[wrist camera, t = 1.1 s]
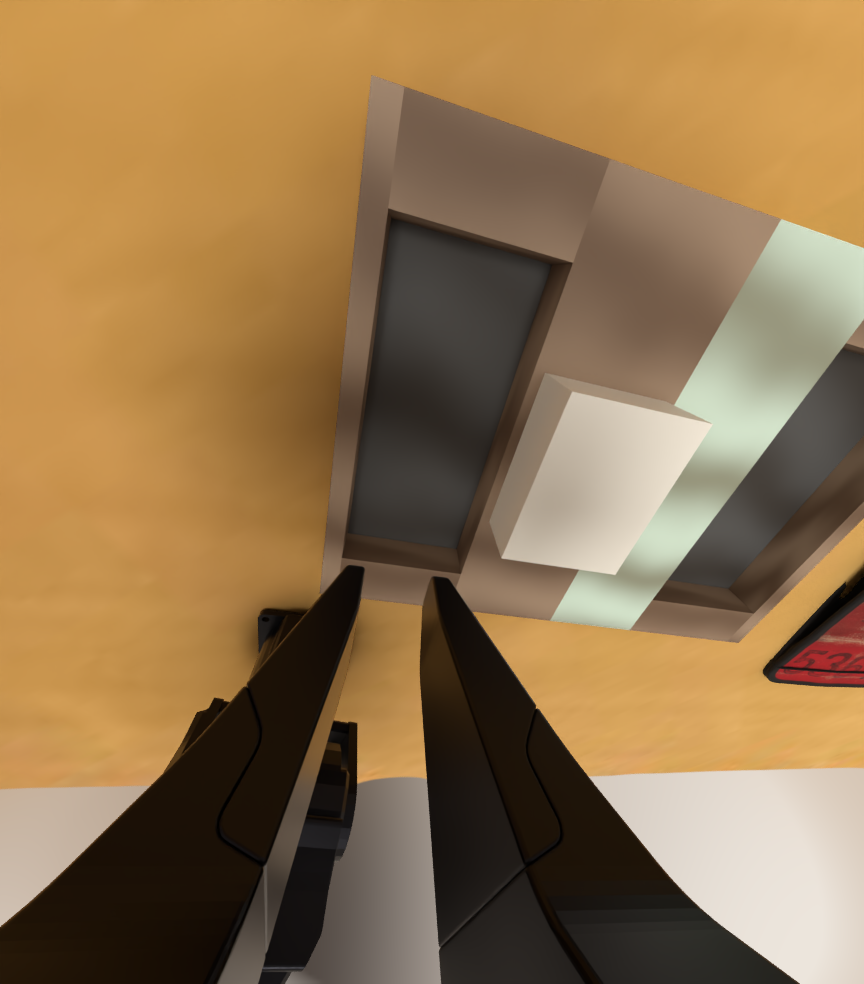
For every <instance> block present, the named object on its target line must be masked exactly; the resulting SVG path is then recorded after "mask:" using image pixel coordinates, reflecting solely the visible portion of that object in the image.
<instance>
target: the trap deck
mask: <svg viewBox="0 0 864 984" xmlns="http://www.w3.org/2000/svg"><path fill="white" fill-rule="evenodd" d="M545 373H548V374H552V375H557V376H561V377H565V378H569V379H573V380H578V381H582V382H586V383H590V384H594V385H599V386H603V387H607V388H611V389H616V390H620V391H624V392H628V393H632V394H637V395H641V396H645V397H649V398H653V399H658V400H662V401H666V402H668V403H670V404H672V405H674V406H676V407H678V408H681V409H683V410H685V411H687V412H689V413H691V414H693V415H695V416H697V417H699V418H702V419H704V420H706V421H708V422H710V423H712V424H713V425H712V427H711V428H710V430H709V431H708V433H707V434H706V436H705V437H704V439H703V441H702V442H701V444H700V445H699V447H698V448H697V450H696V451H695V453H694V454H693V456H692V457H691V459H690V461H689V462H688V464H687V465H686V467H685V468H684V470H683V471H682V473H681V474H680V476H679V478H678V479H677V481H676V482H675V484H674V485H673V487H672V488H671V490H670V491H669V493H668V494H667V496H666V498H665V499H664V501H663V502H662V504H661V505H660V507H659V508H658V510H657V511H656V513H655V514H654V516H653V518H652V519H651V521H650V522H649V524H648V525H647V527H646V528H645V530H644V531H643V533H642V535H641V536H640V538H639V539H638V541H637V542H636V544H635V545H634V547H633V548H632V550H631V551H630V553H629V555H628V556H627V558H626V559H625V561H624V562H623V564H622V565H621V567H620V568H619V570H618V571H617V573H616V575H612V574H606V573H599V572H592V571H585V570H578V569H571V568H564V567H557V566H550V565H543V564H536V563H530V562H523V561H516V560H509V559H502V558H501V556H500V552H499V549H498V546H497V543H496V540H495V537H494V534H493V531H492V528H491V525H490V522H489V521H490V518H491V515H492V513H493V510H494V507H495V505H496V502H497V499H498V497H499V494H500V491H501V489H502V486H503V483H504V481H505V478H506V475H507V473H508V470H509V468H510V465H511V462H512V460H513V457H514V454H515V452H516V449H517V446H518V444H519V441H520V438H521V436H522V433H523V430H524V428H525V425H526V422H527V420H528V417H529V414H530V412H531V409H532V406H533V404H534V401H535V398H536V396H537V393H538V390H539V388H540V385H541V382H542V380H543V377H544V374H545ZM863 518H864V248H862V247H859V246H856V245H853V244H850V243H848V242H845V241H842V240H839V239H836V238H833V237H830V236H828V235H825V234H822V233H819V232H816V231H813V230H811V229H808V228H805V227H802V226H799V225H796V224H794V223H791V222H788V221H785V220H782V219H779V218H776V217H774V216H771V215H768V214H765V213H762V212H759V211H757V210H754V209H751V208H748V207H745V206H742V205H740V204H737V203H734V202H731V201H728V200H725V199H722V198H720V197H717V196H714V195H711V194H708V193H705V192H703V191H700V190H697V189H694V188H691V187H688V186H686V185H683V184H680V183H677V182H674V181H671V180H668V179H666V178H663V177H660V176H657V175H654V174H651V173H649V172H646V171H643V170H640V169H637V168H634V167H632V166H629V165H626V164H623V163H620V162H617V161H614V160H612V159H609V158H606V157H603V156H600V155H597V154H595V153H592V152H589V151H586V150H583V149H580V148H577V147H575V146H572V145H569V144H566V143H563V142H560V141H558V140H555V139H552V138H549V137H546V136H543V135H541V134H538V133H535V132H532V131H529V130H526V129H523V128H521V127H518V126H515V125H512V124H509V123H506V122H504V121H501V120H498V119H495V118H492V117H489V116H487V115H484V114H481V113H478V112H475V111H472V110H469V109H467V108H464V107H461V106H458V105H455V104H452V103H450V102H447V101H444V100H441V99H438V98H435V97H433V96H430V95H427V94H424V93H421V92H418V91H415V90H413V89H410V88H407V87H404V86H401V85H398V84H396V83H393V82H390V81H387V80H384V79H381V78H379V77H376V76H373V75H371V84H370V94H369V104H368V114H367V124H366V135H365V145H364V155H363V165H362V175H361V185H360V195H359V205H358V215H357V225H356V235H355V245H354V255H353V265H352V275H351V285H350V295H349V305H348V315H347V325H346V335H345V345H344V355H343V365H342V375H341V385H340V395H339V405H338V415H337V425H336V435H335V445H334V455H333V465H332V475H331V485H330V495H329V506H328V516H327V526H326V536H325V546H324V556H323V566H322V576H321V586H320V594H323V593H324V591H325V590H326V589H327V588H328V587H329V585H330V584H331V583H332V582H333V581H334V580H335V578H336V577H337V576H338V575H339V574H340V573H341V571H342V570H343V569H344V568H345V567H346V566H347V565H356V566H363V567H364V568H365V574H364V580H363V587H362V594H361V598H362V599H371V600H379V601H388V602H396V603H405V604H413V605H422V606H423V601H424V598H425V594H426V591H427V588H428V584H429V581H430V579H431V577H433V576H439V577H446V578H448V579H450V581H451V582H452V583H453V585H454V586H455V588H456V589H457V591H458V592H459V594H460V595H461V597H462V598H463V600H464V601H465V602H466V604H467V605H468V607H469V608H470V610H471V611H472V612H481V613H489V614H498V615H506V616H515V617H523V618H532V619H540V620H549V621H557V622H566V623H574V624H583V625H591V626H600V627H608V628H616V629H625V630H633V631H642V632H650V633H659V634H667V635H676V636H684V637H693V638H701V639H710V640H718V641H727V642H735V643H739V642H740V641H741V640H742V639H743V638H744V637H745V636H746V635H747V634H748V633H749V632H750V631H751V630H752V629H753V628H754V627H755V626H756V625H757V624H758V623H759V622H760V621H761V620H762V619H763V618H764V617H765V616H766V615H767V614H768V613H769V612H770V611H771V610H772V609H773V608H774V607H775V606H776V605H777V604H778V603H779V602H780V601H781V600H782V599H783V598H784V597H785V596H786V595H787V594H788V593H789V592H790V591H791V590H792V589H793V588H794V587H795V586H796V585H797V584H798V583H799V582H800V581H801V580H802V579H803V578H804V577H805V576H806V575H807V574H808V573H809V572H810V571H811V570H812V569H813V568H814V567H815V566H816V565H817V564H818V563H819V562H820V561H821V560H822V559H823V558H824V557H825V556H826V555H827V554H828V553H829V552H830V551H831V550H832V549H833V548H834V547H835V546H836V545H837V544H838V543H839V542H840V541H841V540H842V539H843V538H844V537H845V536H846V535H847V534H848V533H849V532H850V531H851V530H852V529H853V528H854V527H855V526H856V525H857V524H858V523H859V522H860V521H861V520H862V519H863Z"/></svg>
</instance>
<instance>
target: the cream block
mask: <svg viewBox="0 0 864 984" xmlns="http://www.w3.org/2000/svg"><path fill="white" fill-rule="evenodd" d="M712 425H713V424H712V423H710V422H708V421H706V420H704V419H702V418H699V417H697V416H695V415H693V414H691V413H689V412H687V411H685V410H683V409H681V408H678V407H676V406H674V405H672V404H670V403H668V402H666V401H662V400H658V399H653V398H649V397H645V396H641V395H637V394H632V393H628V392H624V391H620V390H616V389H611V388H607V387H603V386H599V385H594V384H590V383H586V382H582V381H578V380H573V379H569V378H565V377H561V376H557V375H552V374H548V373H545V374H544V377H543V380H542V382H541V385H540V388H539V390H538V393H537V396H536V398H535V401H534V404H533V406H532V409H531V412H530V414H529V417H528V420H527V422H526V425H525V428H524V430H523V433H522V436H521V438H520V441H519V444H518V446H517V449H516V452H515V454H514V457H513V460H512V462H511V465H510V468H509V470H508V473H507V475H506V478H505V481H504V483H503V486H502V489H501V491H500V494H499V497H498V499H497V502H496V505H495V507H494V510H493V513H492V515H491V518H490V521H489V522H490V525H491V528H492V531H493V534H494V537H495V540H496V543H497V546H498V549H499V552H500V556H501V558H502V559H509V560H516V561H523V562H530V563H536V564H543V565H550V566H557V567H564V568H571V569H578V570H585V571H592V572H599V573H606V574H612V575H616V573H617V571H618V570H619V568H620V567H621V565H622V564H623V562H624V561H625V559H626V558H627V556H628V555H629V553H630V551H631V550H632V548H633V547H634V545H635V544H636V542H637V541H638V539H639V538H640V536H641V535H642V533H643V531H644V530H645V528H646V527H647V525H648V524H649V522H650V521H651V519H652V518H653V516H654V514H655V513H656V511H657V510H658V508H659V507H660V505H661V504H662V502H663V501H664V499H665V498H666V496H667V494H668V493H669V491H670V490H671V488H672V487H673V485H674V484H675V482H676V481H677V479H678V478H679V476H680V474H681V473H682V471H683V470H684V468H685V467H686V465H687V464H688V462H689V461H690V459H691V457H692V456H693V454H694V453H695V451H696V450H697V448H698V447H699V445H700V444H701V442H702V441H703V439H704V437H705V436H706V434H707V433H708V431H709V430H710V428H711V427H712Z"/></svg>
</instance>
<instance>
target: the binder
mask: <svg viewBox="0 0 864 984" xmlns="http://www.w3.org/2000/svg"><path fill="white" fill-rule="evenodd" d="M845 583H846V582H845ZM845 583H844V584H843V585H842V586H841V587H839V588H838V589H837V590H836V591H835V592H834V593H833V594H832V595H831V596H830V597H829V598H828V599H827V600H826V601H825V602H824V603H823V604H822V605H821V606H820V607H819V609H818V610H817V611H816V612H815V613H814V614H813V615H812V616H811V617H810V618H809V619H808V620H807V621H806V622H805V624H804V625H803V626H802V627H801V628H800V629H799V630H798V631H797V632H796V633H795V634H794V635H793V636H792V637H791V639H790V640H789V641H788V642H787V643H786V644H785V645H784V646H783V647H782V648H781V650H780V651H779V652H778V653H777V654H776V655H775V656H774V658H773V659H771V660H770V662H769V663H768V664H767V665H766V667H765V668H764V670H763V674H764V675H765V676H766V677H767V678H768V679H769V680H770V681H771V682H775V683H785V684H797V685H809V686H824V687H864V577H862V578H861V579H860V580H859V581H858V583H857V584H856V586H855V587H854V589H853V590H852V591H851V592H850V593H849V594H848V595H847V596H845V598H843V599H840V598H839V597H840V595H841V593H842V592H843V591H844V589H845V588H846V584H845Z"/></svg>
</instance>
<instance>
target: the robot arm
mask: <svg viewBox="0 0 864 984" xmlns="http://www.w3.org/2000/svg"><path fill="white" fill-rule="evenodd" d="M364 574H365V568H364V567H363V566H356V565H347V566H346V567H345V568H344V569H343V570H342V571H341V573H340V574H339V575H338V576H337V577H336V578H335V580H334V581H333V582H332V583H331V584H330V585H329V587H328V588H327V589H326V590H325V591H324V593H323V594H322V595H321V596H320V597H319V598H318V600H317V601H316V602H315V603H314V604H313V606H312V607H311V608H310V609H309V610H308V611H307V613H306V614H300V613H291V612H282V611H272V610H263V611H261V613H260V615H259V617H258V640H259V656H258V658H257V661H256V663H255V666H254V668H253V671H252V673H251V676H250V678H249V681H248V682H247V684H246V685H247V686H246V687H243V688H242V689H241V690H240V691H239V692H238V694H237V695H236V696H235V697H234V698H233V700H232V701H231V702H226V701H224V699H220V698H214V699H213V701H212V703H211V705H210V707H209V708H208V709H207V710H204V711H200V712H197V713H196V715H195V717H194V719H193V722H192V724H191V726H190V728H189V730H188V732H187V734H186V736H185V738H184V740H183V741H182V743H181V745H180V747H179V748H178V750H177V752H176V753H175V755H174V757H173V758H172V760H171V761H170V763H169V765H168V766H167V768H166V769H165V771H164V773H163V774H162V775H161V776H160V777H159V778H158V779H157V780H156V781H155V782H154V783H153V784H152V785H151V786H150V787H149V788H148V789H147V790H146V791H145V792H144V793H143V794H142V795H141V796H140V797H139V798H138V799H137V800H136V801H135V802H134V803H133V804H132V805H130V806H129V808H127V809H126V811H124V812H123V813H122V814H121V815H120V816H119V817H118V819H116V820H115V821H114V822H113V823H112V824H111V825H110V826H109V827H108V828H107V829H106V830H105V831H104V832H103V833H102V834H101V835H100V836H99V837H98V838H97V839H96V840H95V841H94V842H93V843H92V844H91V845H90V846H89V847H88V848H87V849H86V850H85V851H84V852H82V853H81V855H79V856H78V857H77V858H76V859H75V861H73V862H72V863H71V864H70V865H69V866H68V867H67V868H66V869H65V870H64V871H63V872H62V873H61V874H60V875H59V876H58V877H57V878H56V879H55V880H53V882H51V883H50V884H49V885H48V886H47V887H46V888H45V889H44V890H43V891H41V892H40V893H39V894H38V895H37V896H36V897H35V898H34V899H33V900H32V901H30V902H29V903H28V904H27V905H26V906H25V907H23V908H22V909H21V910H20V911H19V912H17V913H16V914H15V915H14V916H13V917H11V919H9V920H8V921H7V922H6V923H4V924H3V925H2V926H1V927H0V984H285V982H286V981H287V979H288V977H289V976H290V973H291V972H297V971H298V972H300V971H302V970H303V969H304V968H305V966H306V964H307V963H308V961H309V958H310V957H311V954H312V952H313V950H314V948H315V946H316V944H317V942H318V940H319V938H320V936H321V932H322V928H323V921H324V914H325V909H326V902H327V895H328V890H329V885H330V880H331V876H332V871H333V866H334V862H338V861H339V860H340V859H341V857H342V855H343V853H344V851H345V849H346V845H347V842H348V839H349V835H350V831H351V827H352V822H353V817H354V811H355V804H356V795H357V794H356V793H357V723H355V722H348V723H345V722H340V721H334V716H335V713H336V709H337V706H338V702H339V699H340V695H341V692H342V688H343V685H344V681H345V678H346V674H347V670H348V666H349V661H350V656H351V650H352V645H353V639H354V634H355V628H356V623H357V617H358V612H359V607H360V601H361V594H362V587H363V580H364ZM420 686H421V700H422V714H423V729H424V743H425V757H426V771H427V785H428V800H429V814H430V828H431V841H432V857H433V869H434V870H433V871H434V885H435V898H436V913H437V928H438V942H439V947H440V950H439V958H440V971H441V972H440V973H441V984H800V983H798V982H797V981H795V980H794V979H793V978H791V977H790V976H789V975H787V974H786V973H785V972H783V971H782V970H781V969H779V968H777V966H775V965H774V964H772V963H771V962H770V961H768V960H767V959H766V958H764V957H763V956H762V955H760V954H759V953H758V952H756V951H755V950H754V949H752V948H751V947H749V946H748V945H747V944H745V943H744V942H743V941H741V940H740V939H738V938H737V937H736V936H735V935H733V934H732V933H730V932H729V931H728V930H726V929H725V928H724V927H722V926H721V925H720V924H718V923H717V922H716V921H715V920H713V919H712V918H711V917H710V916H709V915H708V914H707V913H705V912H704V911H703V910H702V909H701V908H700V907H699V906H698V905H697V904H695V902H693V901H692V900H691V899H690V898H689V897H688V896H687V895H686V894H685V893H684V892H683V891H682V890H681V889H680V888H679V887H678V885H677V884H676V883H675V882H674V881H673V880H672V879H671V878H670V877H669V875H668V874H667V873H666V872H665V871H664V870H663V869H662V867H661V866H660V865H659V864H658V863H657V862H656V860H655V859H654V858H653V856H652V855H651V854H650V853H649V851H648V850H647V849H646V848H645V846H644V845H643V844H642V843H641V841H640V840H639V839H638V838H637V836H636V835H635V834H634V833H633V832H632V830H631V829H630V828H629V827H628V825H627V824H626V823H625V822H624V820H623V819H622V818H621V817H620V816H619V814H618V813H617V812H616V811H615V809H614V808H613V807H612V806H611V804H610V803H609V802H608V801H607V800H606V798H605V797H604V796H603V794H602V793H601V792H600V791H599V790H598V788H597V787H596V786H595V785H594V783H593V782H592V781H591V780H590V778H589V777H588V776H587V774H586V773H585V772H584V770H583V769H582V768H581V767H580V765H579V764H578V763H577V761H576V760H575V759H574V758H573V756H572V755H571V754H570V752H569V751H568V750H567V748H566V747H565V745H564V744H563V743H562V741H561V740H560V738H559V737H558V736H557V734H556V733H555V731H554V730H553V729H552V727H551V726H550V724H549V723H548V721H547V720H546V719H545V717H544V716H543V714H542V713H541V711H540V710H539V709H536V704H535V703H534V701H533V700H532V698H531V697H530V696H529V694H528V693H527V691H526V690H525V688H524V687H523V685H522V684H521V682H520V681H519V680H518V678H517V677H516V675H515V674H514V672H513V671H512V669H511V668H510V666H509V665H508V664H507V662H506V661H505V659H504V658H503V656H502V655H501V653H500V652H499V650H498V649H497V648H496V646H495V645H494V643H493V642H492V640H491V639H490V637H489V636H488V634H487V633H486V632H485V630H484V629H483V627H482V626H481V624H480V623H479V621H478V620H477V618H476V617H475V616H474V614H473V613H472V611H471V610H470V608H469V607H468V605H467V604H466V602H465V601H464V600H463V598H462V597H461V595H460V594H459V592H458V591H457V589H456V588H455V586H454V585H453V583H452V582H451V581H450V579H448V578H446V577H439V576H433V577H431V579H430V581H429V584H428V588H427V591H426V594H425V598H424V601H423V608H422V629H421V651H420Z"/></svg>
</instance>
